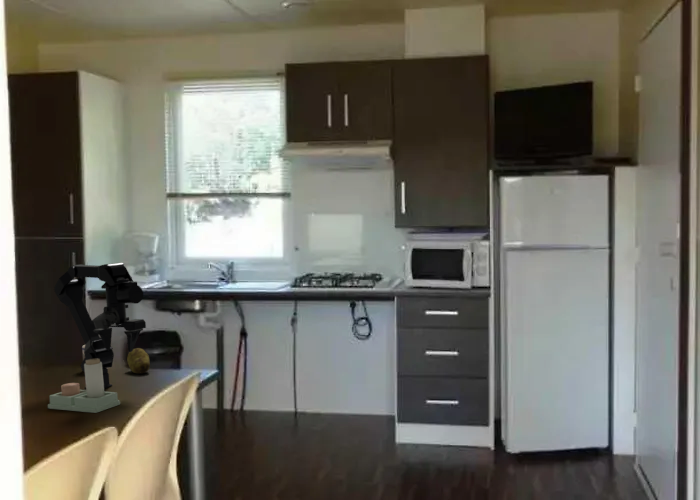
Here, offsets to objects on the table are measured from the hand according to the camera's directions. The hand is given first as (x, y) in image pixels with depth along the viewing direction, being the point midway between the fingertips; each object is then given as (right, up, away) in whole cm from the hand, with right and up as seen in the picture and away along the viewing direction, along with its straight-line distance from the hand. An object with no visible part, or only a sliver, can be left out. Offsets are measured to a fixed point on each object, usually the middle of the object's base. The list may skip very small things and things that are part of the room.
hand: (119, 351), depth 260 cm
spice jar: (-1, -13, -19) cm, 23 cm away
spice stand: (-6, -14, -17) cm, 23 cm away
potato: (-2, -11, +31) cm, 33 cm away
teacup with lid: (-19, -12, +38) cm, 44 cm away
